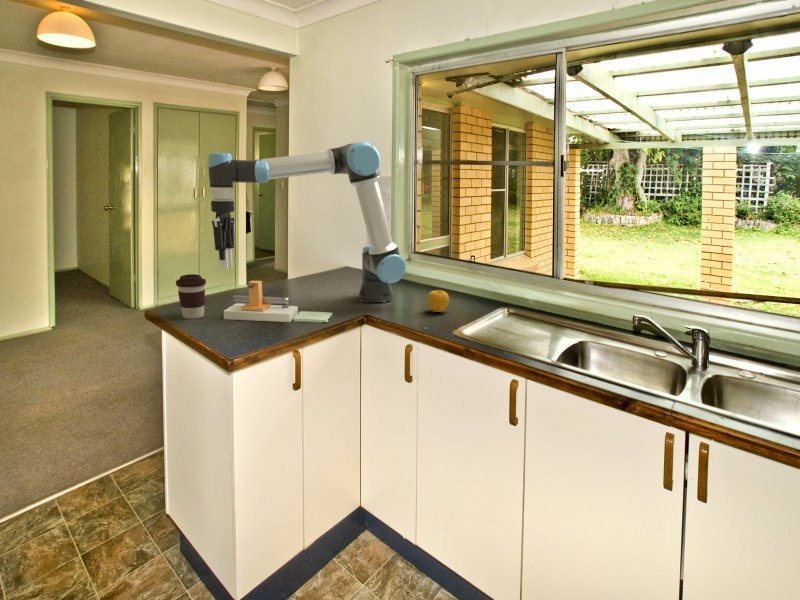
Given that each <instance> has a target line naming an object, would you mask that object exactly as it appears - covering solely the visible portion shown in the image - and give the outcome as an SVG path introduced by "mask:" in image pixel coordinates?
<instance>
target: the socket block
mask: <svg viewBox="0 0 800 600" xmlns="http://www.w3.org/2000/svg"><path fill="white" fill-rule="evenodd" d="M245 304H246V303H238V302H236V303H234V304H232V305H231V306H229V307H228V308H226V309H224V310H223V319H224V320H234V321H235V320H236V321H237V320H238V321H239V320H240V321H256V322H257V321H259V322H279V323H280V322H281V323H290V322H292V321H293V320H294V319H293V318H294V317H295V316H297V315H298V314H299V306H297V305H289V304H281V305H280V304H279V305H278V304H277V305H276V304H270V306H269V307H268V308H266V309H265V310H264V311H253V310H241V307H242V306H244V305H245Z"/></svg>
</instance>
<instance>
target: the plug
mask: <svg viewBox="0 0 800 600" xmlns="http://www.w3.org/2000/svg"><path fill="white" fill-rule="evenodd" d="M247 284H248V296H249V302H246V303H244V304H245V305H244V306H242V307H241V310H253V311H264V310H265V309H266V308H268V307H269V306H270V305H271V303H263V302H262V297H263V285H262V284H263V281H262V280H250V281H248V283H247Z"/></svg>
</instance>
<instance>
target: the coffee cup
mask: <svg viewBox="0 0 800 600" xmlns="http://www.w3.org/2000/svg"><path fill="white" fill-rule="evenodd" d="M206 284H207V280H206V279H205V278H203V277H202V276H201V274H192V273H191V274H183V275H181V276H179V279H176V281H175V286H176V287H177V288H178V291H177V293H178V300H179V305H180V307H181V314H182V317H183V318H184V319H188V320H193V319H194V320H195V319H199V318H203V317H204V316H205V304H206V289H205V285H206Z"/></svg>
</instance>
